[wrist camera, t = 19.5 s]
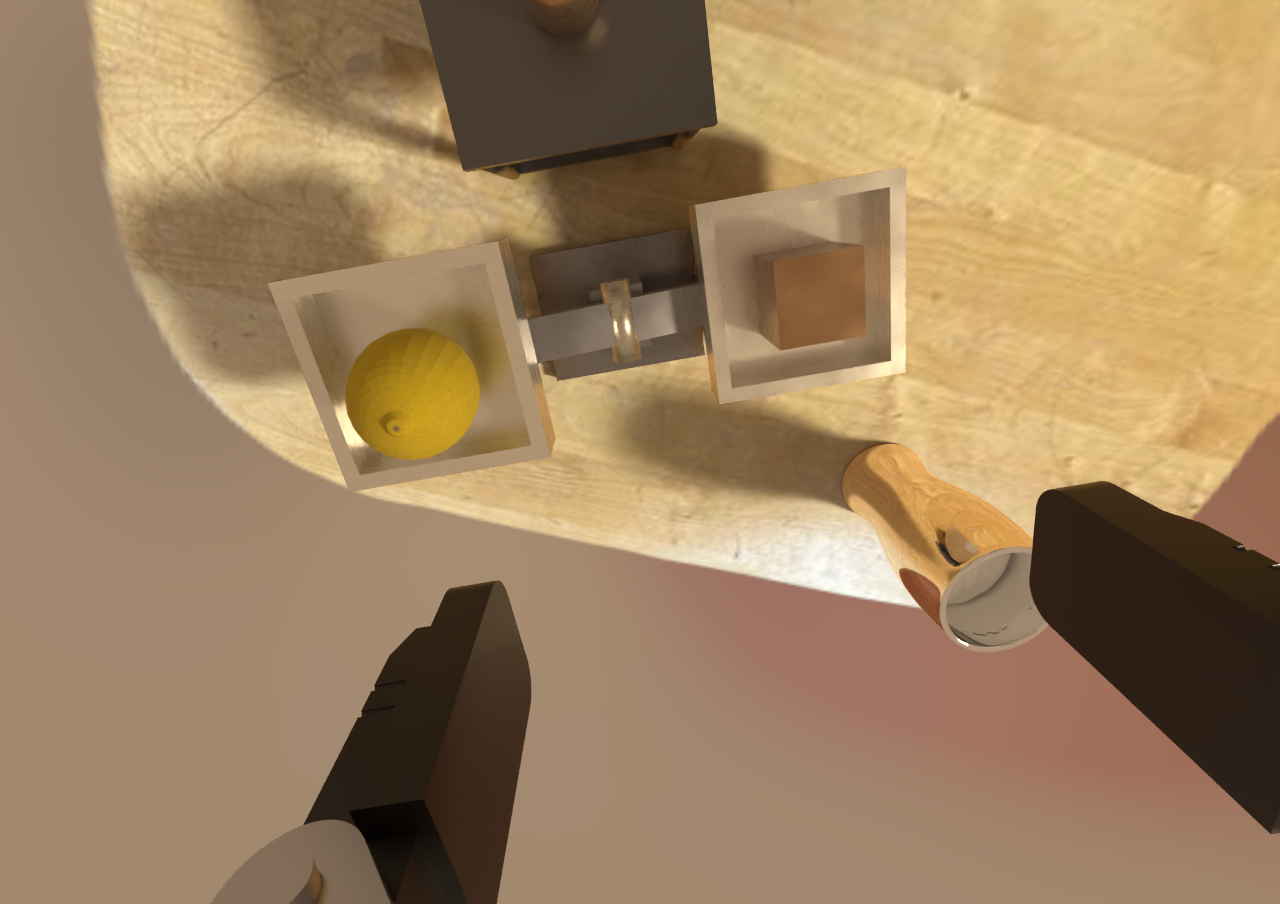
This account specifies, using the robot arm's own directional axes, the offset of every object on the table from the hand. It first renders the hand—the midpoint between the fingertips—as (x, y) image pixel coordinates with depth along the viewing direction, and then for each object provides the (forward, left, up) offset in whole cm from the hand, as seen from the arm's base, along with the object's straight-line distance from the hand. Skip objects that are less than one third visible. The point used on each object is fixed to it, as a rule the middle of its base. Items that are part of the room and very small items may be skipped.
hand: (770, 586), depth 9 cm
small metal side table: (-14, -2, -32) cm, 35 cm away
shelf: (0, -2, -32) cm, 32 cm away
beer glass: (+16, +15, -32) cm, 39 cm away
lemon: (0, -12, -23) cm, 26 cm away
